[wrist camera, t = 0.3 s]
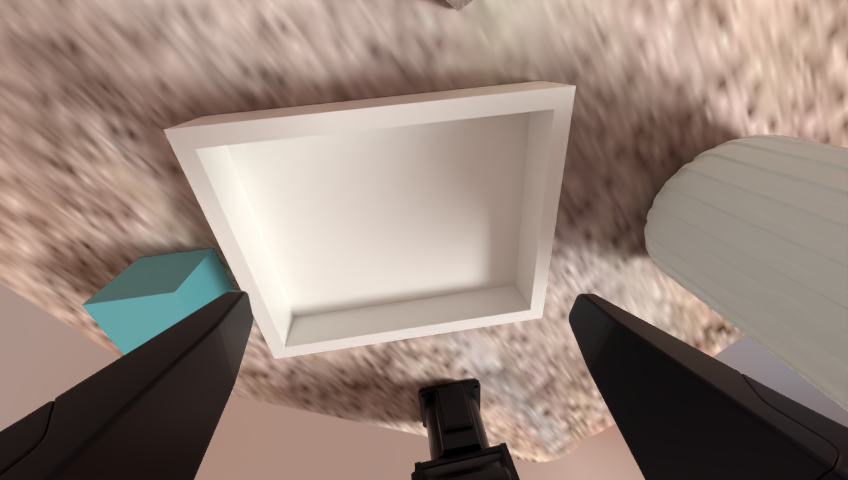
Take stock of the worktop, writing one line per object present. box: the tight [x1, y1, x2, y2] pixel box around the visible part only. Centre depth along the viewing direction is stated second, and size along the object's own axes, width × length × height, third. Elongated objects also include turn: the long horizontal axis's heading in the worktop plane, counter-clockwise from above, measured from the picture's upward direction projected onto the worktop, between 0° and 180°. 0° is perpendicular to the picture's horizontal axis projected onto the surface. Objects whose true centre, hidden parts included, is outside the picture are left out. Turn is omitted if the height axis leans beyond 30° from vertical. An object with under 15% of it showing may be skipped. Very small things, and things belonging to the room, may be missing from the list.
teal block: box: [82, 248, 235, 355], centre depth 21 cm, size 5×5×5 cm
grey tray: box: [164, 81, 576, 359], centre depth 21 cm, size 16×20×4 cm
